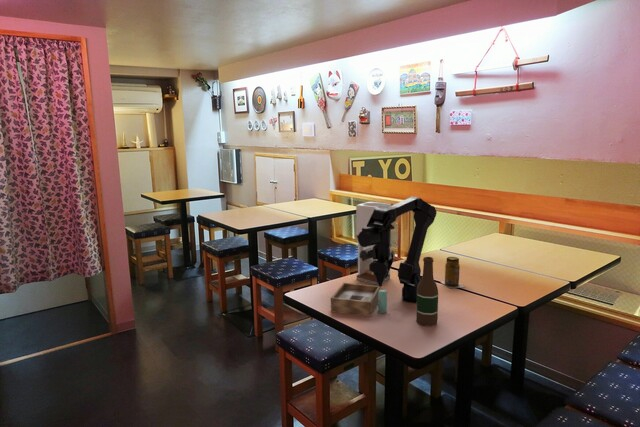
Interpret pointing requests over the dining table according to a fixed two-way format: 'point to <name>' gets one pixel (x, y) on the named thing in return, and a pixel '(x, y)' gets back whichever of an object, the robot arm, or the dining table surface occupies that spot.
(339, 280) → the dining table surface
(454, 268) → the condiment
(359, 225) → the display case
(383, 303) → the peg
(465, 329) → the dining table surface
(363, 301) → the box
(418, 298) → the beer bottle
